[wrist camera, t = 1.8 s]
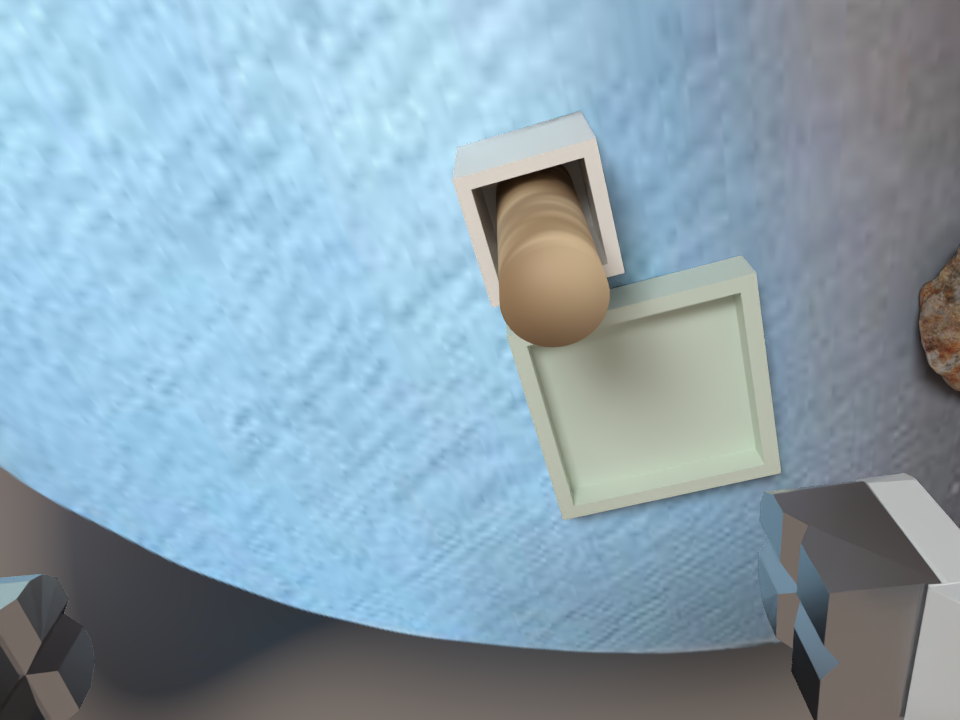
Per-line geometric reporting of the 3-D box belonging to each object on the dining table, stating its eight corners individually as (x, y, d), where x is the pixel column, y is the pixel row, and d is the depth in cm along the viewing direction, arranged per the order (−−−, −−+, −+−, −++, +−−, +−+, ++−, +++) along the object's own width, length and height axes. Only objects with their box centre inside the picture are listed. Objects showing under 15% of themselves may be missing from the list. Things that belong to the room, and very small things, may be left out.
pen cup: (580, 110, 34) (595, 138, 29) (606, 229, 37) (624, 272, 32) (457, 146, 35) (452, 179, 30) (491, 260, 38) (491, 307, 33)
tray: (741, 255, 37) (756, 272, 35) (767, 448, 43) (780, 472, 41) (505, 315, 39) (506, 336, 37) (559, 494, 44) (563, 520, 42)
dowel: (563, 144, 34) (597, 233, 24) (580, 218, 36) (619, 332, 25) (486, 166, 35) (486, 263, 24) (507, 238, 36) (515, 358, 26)
